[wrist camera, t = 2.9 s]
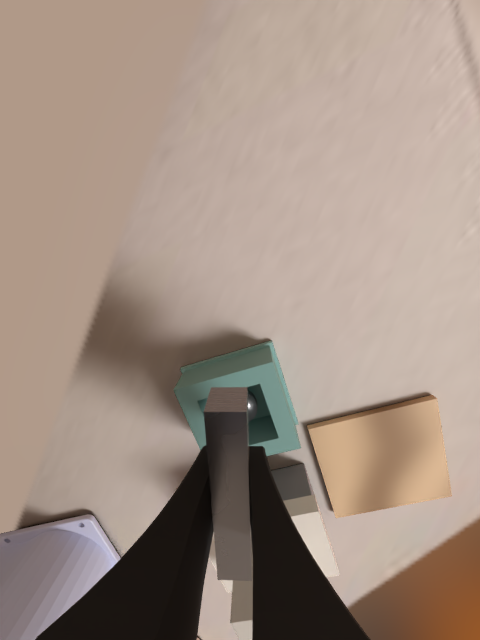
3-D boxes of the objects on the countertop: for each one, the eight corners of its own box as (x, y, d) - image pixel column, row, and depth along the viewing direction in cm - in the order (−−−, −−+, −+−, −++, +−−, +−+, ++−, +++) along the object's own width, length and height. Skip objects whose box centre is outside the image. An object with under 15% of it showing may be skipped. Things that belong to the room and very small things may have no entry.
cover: (228, 573, 17) (221, 666, 13) (200, 517, 16) (184, 602, 12) (334, 556, 16) (360, 650, 12) (314, 494, 15) (335, 579, 11)
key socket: (213, 441, 17) (207, 472, 15) (181, 367, 16) (168, 387, 13) (297, 421, 16) (305, 450, 14) (271, 340, 15) (275, 357, 13)
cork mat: (334, 512, 18) (335, 518, 18) (306, 425, 17) (308, 429, 16) (447, 490, 17) (451, 496, 17) (432, 394, 16) (437, 398, 15)
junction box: (233, 531, 20) (230, 571, 17) (211, 484, 18) (204, 519, 16) (320, 515, 19) (330, 554, 16) (304, 463, 17) (311, 497, 15)
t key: (258, 456, 16) (261, 581, 10) (224, 456, 16) (207, 579, 10) (256, 341, 14) (258, 411, 8) (217, 342, 14) (191, 411, 8)
